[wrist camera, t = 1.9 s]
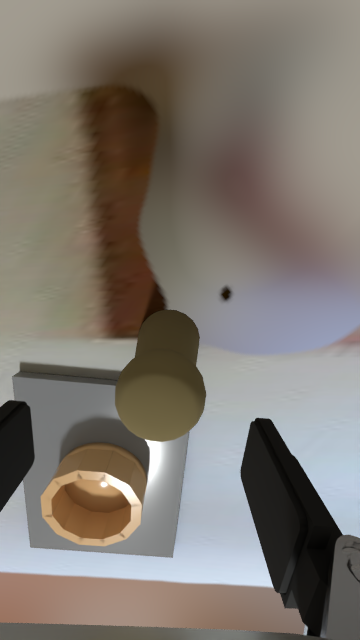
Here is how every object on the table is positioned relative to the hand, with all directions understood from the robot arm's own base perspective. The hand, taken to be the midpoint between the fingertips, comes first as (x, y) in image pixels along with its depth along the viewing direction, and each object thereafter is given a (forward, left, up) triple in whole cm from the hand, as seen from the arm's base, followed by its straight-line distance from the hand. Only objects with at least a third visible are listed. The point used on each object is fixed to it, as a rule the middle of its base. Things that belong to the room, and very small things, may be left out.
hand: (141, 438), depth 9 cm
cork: (-1, 0, -13) cm, 13 cm away
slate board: (+5, +17, -13) cm, 22 cm away
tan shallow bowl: (+5, +17, -12) cm, 21 cm away
